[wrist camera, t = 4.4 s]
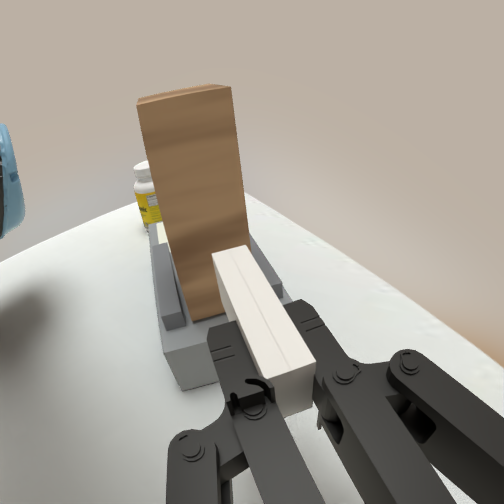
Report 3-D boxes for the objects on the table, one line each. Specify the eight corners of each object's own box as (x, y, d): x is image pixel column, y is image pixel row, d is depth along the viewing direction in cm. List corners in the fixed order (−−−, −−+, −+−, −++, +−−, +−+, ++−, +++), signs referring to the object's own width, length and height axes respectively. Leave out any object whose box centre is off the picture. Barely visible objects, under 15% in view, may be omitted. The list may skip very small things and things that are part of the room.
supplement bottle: (143, 222, 49) (128, 164, 44) (176, 212, 50) (163, 154, 45) (146, 237, 45) (129, 174, 39) (182, 227, 46) (168, 163, 41)
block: (257, 302, 24) (230, 86, 15) (191, 321, 23) (136, 105, 14) (235, 259, 29) (209, 83, 20) (180, 274, 28) (138, 98, 19)
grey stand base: (300, 355, 26) (299, 297, 22) (182, 391, 24) (156, 338, 20) (234, 239, 42) (227, 192, 38) (158, 259, 40) (145, 213, 36)
